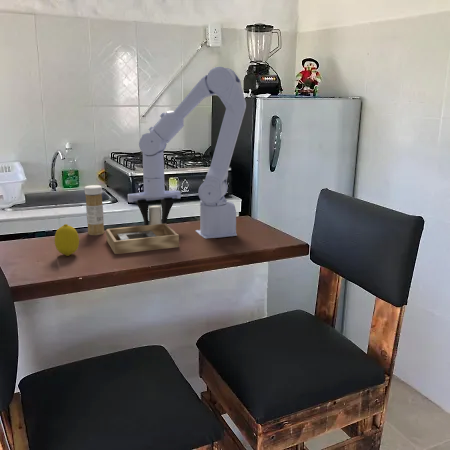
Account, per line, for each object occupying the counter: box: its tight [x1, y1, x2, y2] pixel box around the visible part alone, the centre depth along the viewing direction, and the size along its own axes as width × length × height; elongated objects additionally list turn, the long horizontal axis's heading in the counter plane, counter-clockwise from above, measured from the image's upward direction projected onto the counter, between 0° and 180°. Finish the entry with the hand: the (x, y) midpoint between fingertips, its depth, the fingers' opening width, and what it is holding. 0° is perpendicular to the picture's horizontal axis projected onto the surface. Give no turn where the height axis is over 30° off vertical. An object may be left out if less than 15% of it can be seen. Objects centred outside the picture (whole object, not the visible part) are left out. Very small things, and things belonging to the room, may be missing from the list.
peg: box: [148, 205, 162, 225], centre depth 141 cm, size 3×3×7 cm
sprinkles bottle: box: [84, 184, 106, 236], centre depth 137 cm, size 5×5×14 cm
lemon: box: [54, 223, 80, 257], centre depth 119 cm, size 6×6×8 cm
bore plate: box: [117, 230, 157, 241], centre depth 129 cm, size 9×9×2 cm
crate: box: [105, 223, 180, 255], centre depth 129 cm, size 16×12×4 cm
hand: (155, 225), depth 142 cm, fingers open, 4 cm apart
